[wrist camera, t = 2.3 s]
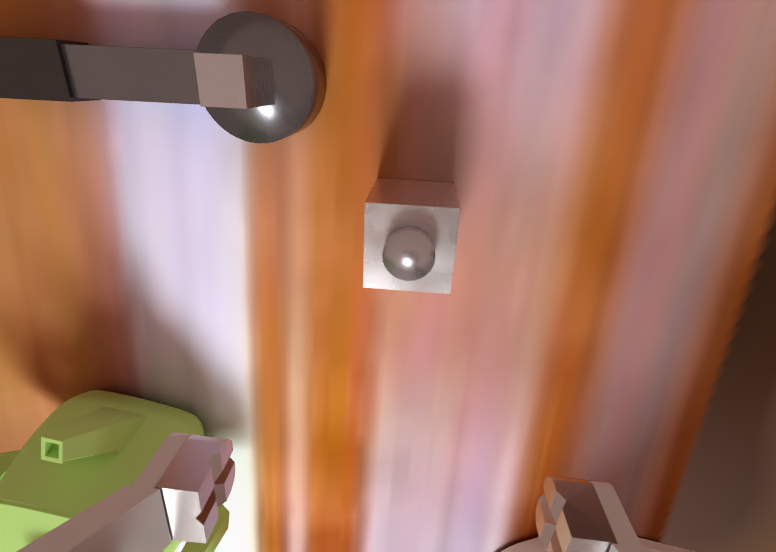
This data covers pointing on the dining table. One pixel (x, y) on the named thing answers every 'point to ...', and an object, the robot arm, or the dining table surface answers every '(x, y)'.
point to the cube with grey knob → (410, 235)
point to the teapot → (87, 464)
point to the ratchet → (184, 75)
